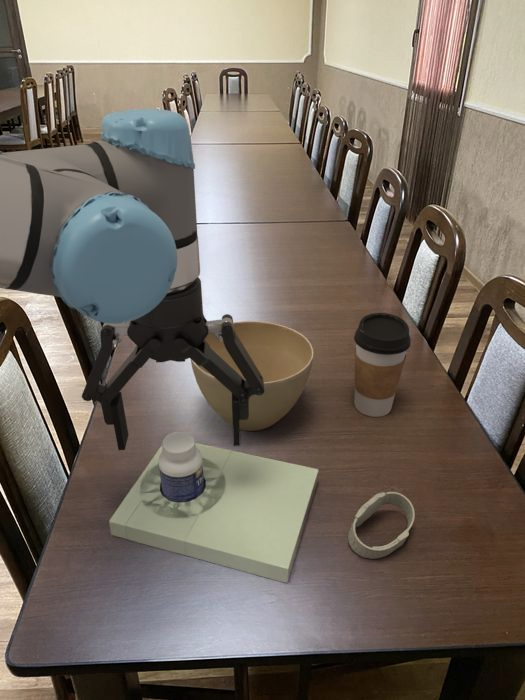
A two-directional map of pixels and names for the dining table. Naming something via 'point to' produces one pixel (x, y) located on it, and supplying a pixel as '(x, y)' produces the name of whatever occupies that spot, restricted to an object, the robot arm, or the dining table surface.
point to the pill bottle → (181, 468)
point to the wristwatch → (368, 510)
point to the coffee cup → (379, 361)
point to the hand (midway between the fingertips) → (180, 440)
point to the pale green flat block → (225, 512)
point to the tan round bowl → (274, 365)
